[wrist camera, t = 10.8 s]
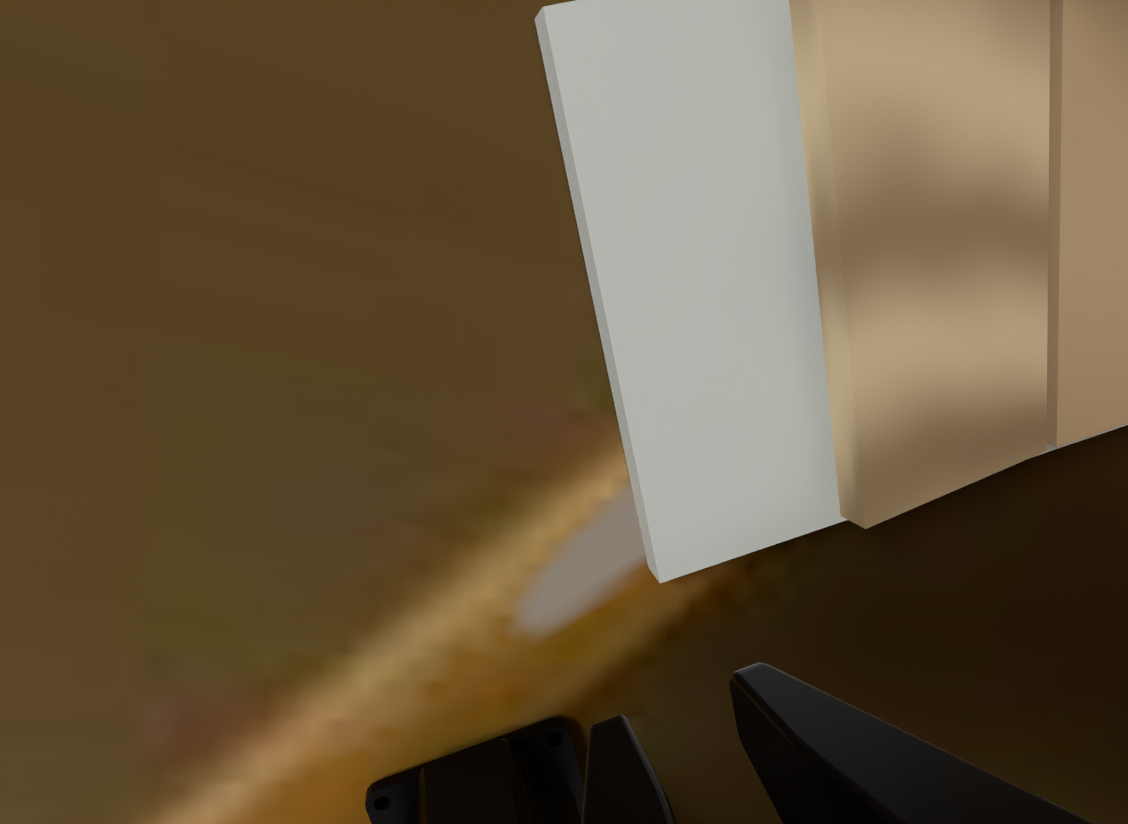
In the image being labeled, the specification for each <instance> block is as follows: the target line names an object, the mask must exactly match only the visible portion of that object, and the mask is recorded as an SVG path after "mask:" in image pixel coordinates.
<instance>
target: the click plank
mask: <svg viewBox="0 0 1128 824" xmlns="http://www.w3.org/2000/svg"><path fill="white" fill-rule="evenodd" d="M789 5H790V15H791V25H792V35H793V45H794V55H795V65H796V75H797V85H798V95H799V105H800V115H801V124H802V134H803V144H804V154H805V164H806V174H807V184H808V194H809V204H810V214H811V224H812V234H813V244H814V254H815V264H816V274H817V284H818V294H819V304H820V314H821V324H822V334H823V344H824V354H825V364H826V374H827V384H828V394H829V404H830V414H831V424H832V434H833V444H834V454H835V464H836V474H837V484H838V494H839V504H840V514H841V516H842V517H844V518H846V519H847V520H849V521H851V522H853V523H855V524H857V525H859V526H861V527H863V528H864V529H867V528H869V527H871V526H874V525H876V524H878V523H881V522H883V521H885V520H888V519H890V518H892V517H895V516H897V515H899V514H902V513H904V512H906V511H909V510H911V509H913V508H915V507H918V506H920V505H922V504H925V503H927V502H929V501H932V500H934V499H936V498H939V497H941V496H943V495H946V494H948V493H950V492H953V491H955V490H957V489H960V488H962V487H964V486H966V485H969V484H971V483H973V482H976V481H978V480H980V479H983V478H985V477H987V476H990V475H992V474H994V473H997V472H999V471H1001V470H1004V469H1006V468H1008V467H1010V466H1013V465H1015V464H1017V463H1020V462H1022V461H1024V460H1027V459H1029V458H1031V457H1034V456H1036V455H1038V454H1041V453H1043V452H1045V451H1046V450H1047V333H1048V216H1049V99H1050V0H789Z"/></svg>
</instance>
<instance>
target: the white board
mask: <svg viewBox="0 0 1128 824" xmlns="http://www.w3.org/2000/svg"><path fill="white" fill-rule="evenodd" d="M535 24H536V28H537V33H538V38H539V43H540V48H541V53H542V57H543V62H544V67H545V72H546V77H547V81H548V86H549V91H550V96H551V101H552V106H553V110H554V115H555V120H556V125H557V130H558V134H559V139H560V144H561V149H562V154H563V159H564V163H565V168H566V173H567V178H568V183H569V187H570V192H571V197H572V202H573V207H574V212H575V216H576V221H577V226H578V231H579V236H580V240H581V245H582V250H583V255H584V260H585V265H586V269H587V274H588V279H589V284H590V289H591V293H592V298H593V303H594V308H595V313H596V318H597V322H598V327H599V332H600V337H601V342H602V346H603V351H604V356H605V361H606V366H607V371H608V375H609V380H610V385H611V390H612V395H613V399H614V404H615V409H616V414H617V419H618V424H619V428H620V433H621V438H622V443H623V448H624V452H625V457H626V462H627V467H628V472H629V477H630V481H631V486H632V491H633V496H634V501H635V505H636V510H637V515H638V520H639V525H640V530H641V534H642V539H643V544H644V549H645V554H646V558H647V563H648V568H649V569H650V570H651V572H652V573H653V575H654V576H655V577H656V579H657V580H658V581H659V583H663V582H666V581H669V580H672V579H674V578H677V577H680V576H683V575H686V574H689V573H692V572H695V571H698V570H701V569H704V568H707V567H710V566H713V565H716V564H719V563H722V562H725V561H728V560H731V559H733V558H736V557H739V556H742V555H745V554H748V553H751V552H754V551H757V550H760V549H763V548H766V547H769V546H772V545H775V544H778V543H781V542H784V541H787V540H790V539H793V538H795V537H798V536H801V535H804V534H807V533H810V532H813V531H816V530H819V529H822V528H825V527H828V526H831V525H834V524H837V523H840V522H843V521H846V520H847V519H846V518H844V517H842V516H841V514H840V504H839V494H838V484H837V474H836V464H835V454H834V444H833V434H832V424H831V414H830V404H829V394H828V384H827V374H826V364H825V354H824V344H823V334H822V324H821V314H820V304H819V294H818V284H817V274H816V264H815V254H814V244H813V234H812V224H811V214H810V204H809V194H808V184H807V174H806V164H805V154H804V144H803V134H802V124H801V115H800V105H799V95H798V85H797V75H796V65H795V55H794V45H793V35H792V25H791V15H790V5H789V0H576V1H571V2H566V3H561V4H555V5H550V6H545V7H542V9H541V10H540V12H539V13H538V15H537V16H536V18H535ZM1126 425H1128V0H1050V99H1049V216H1048V333H1047V450H1046V451H1045V452H1043V453H1046V452H1049V451H1052V450H1055V449H1058V448H1061V447H1064V446H1067V445H1070V444H1073V443H1076V442H1079V441H1082V440H1085V439H1088V438H1091V437H1094V436H1096V435H1099V434H1102V433H1105V432H1108V431H1111V430H1114V429H1117V428H1120V427H1123V426H1126ZM1043 453H1041V454H1043ZM1038 455H1040V454H1038ZM1036 456H1037V455H1036ZM1034 457H1035V456H1034ZM1031 458H1032V457H1031Z"/></svg>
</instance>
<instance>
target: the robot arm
mask: <svg viewBox="0 0 1128 824" xmlns="http://www.w3.org/2000/svg"><path fill="white" fill-rule="evenodd" d="M729 684H730V691H731V696H732V702H733V708H734V714H735V719H736V725H737V730H738V734H739V737H740V740H741V742H742V745H743V747H744V749H745V751H746V753H747V755H748V757H749V759H750V761H751V763H752V765H753V767H754V768H755V770H756V772H757V774H758V776H759V778H760V780H761V782H762V784H763V786H764V788H765V789H766V791H767V793H768V795H769V797H770V799H771V801H772V803H773V805H774V807H775V808H776V810H777V812H778V814H779V816H780V818H781V820H782V822H783V824H1097V823H1095V822H1092V821H1090V820H1088V819H1086V818H1084V817H1082V816H1080V815H1078V814H1076V813H1074V812H1072V811H1070V810H1068V809H1066V808H1064V807H1061V806H1059V805H1057V804H1055V803H1053V802H1051V801H1049V800H1047V799H1045V798H1043V797H1041V796H1039V795H1037V794H1035V793H1033V792H1030V791H1028V790H1026V789H1024V788H1022V787H1020V786H1018V785H1016V784H1014V783H1012V782H1010V781H1008V780H1006V779H1004V778H1002V777H999V776H997V775H995V774H993V773H991V772H989V771H987V770H985V769H983V768H981V767H979V766H977V765H975V764H973V763H971V762H968V761H966V760H964V759H962V758H960V757H958V756H956V755H954V754H952V753H950V752H948V751H946V750H944V749H942V748H940V747H937V746H935V745H933V744H931V743H929V742H927V741H925V740H923V739H921V738H919V737H917V736H915V735H913V734H911V733H909V732H906V731H904V730H902V729H900V728H898V727H896V726H894V725H892V724H890V723H888V722H886V721H884V720H882V719H880V718H878V717H875V716H873V715H871V714H869V713H867V712H865V711H863V710H861V709H859V708H857V707H855V706H853V705H851V704H849V703H847V702H844V701H842V700H840V699H838V698H836V697H834V696H832V695H830V694H828V693H826V692H824V691H822V690H820V689H818V688H816V687H813V686H811V685H809V684H807V683H805V682H803V681H801V680H799V679H797V678H795V677H793V676H791V675H789V674H787V673H785V672H782V671H780V670H778V669H776V668H774V667H772V666H770V665H768V664H765V663H756V664H753V665H751V666H748V667H745V668H742V669H740V670H737V671H734V672H733V673H732V674H731V676H730V680H729ZM553 733H559V734H558V735H557V736H555V737H551V738H549V736H550V735H551V734H553ZM383 796H385V797H388V798H386V799H383V800H379V799H377V798H379V797H383ZM365 806H366V811H367V813H368V815H369V818H370V820H371V823H372V824H676V821H675V817H674V814H673V812H672V809H671V806H670V803H669V800H668V798H667V796H666V794H665V791H664V789H663V787H662V785H661V783H660V781H659V779H658V777H657V775H656V773H655V771H654V770H653V768H652V766H651V764H650V762H649V760H648V758H647V756H646V754H645V752H644V750H643V748H642V746H641V744H640V743H639V741H638V739H637V737H636V735H635V733H634V731H633V729H632V727H631V725H630V723H629V721H628V719H627V718H626V717H625V716H624V715H622V714H617V715H615V716H612V717H609V718H606V719H604V720H601V721H598V722H596V723H593V724H592V725H591V727H590V730H589V738H588V751H587V763H586V776H585V787H584V783H583V780H582V776H581V772H580V769H579V765H578V762H577V758H576V754H575V751H574V747H573V743H572V740H571V736H570V733H569V730H568V727H567V725H566V723H565V721H563V720H562V719H560V718H550V719H547V720H544V721H541V722H538V723H536V724H533V725H530V726H527V727H525V728H522V729H519V730H516V731H513V732H511V733H508V734H505V735H502V736H500V737H497V738H494V739H491V740H489V741H486V742H483V743H480V744H478V745H475V746H472V747H469V748H467V749H464V750H461V751H458V752H456V753H453V754H450V755H447V756H444V757H442V758H439V759H436V760H433V761H431V762H428V763H425V764H422V765H420V766H417V767H414V768H411V769H409V770H406V771H403V772H400V773H398V774H395V775H392V776H389V777H387V778H384V779H381V780H378V781H376V782H374V783H373V784H371V785H370V787H369V788H368V789H367V792H366V800H365Z"/></svg>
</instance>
